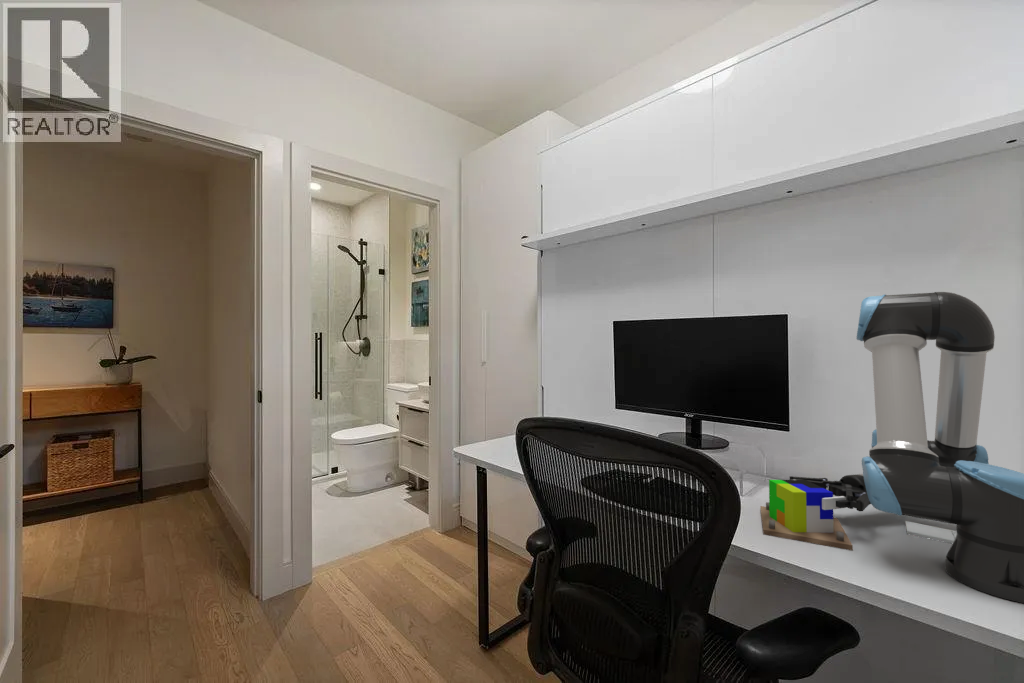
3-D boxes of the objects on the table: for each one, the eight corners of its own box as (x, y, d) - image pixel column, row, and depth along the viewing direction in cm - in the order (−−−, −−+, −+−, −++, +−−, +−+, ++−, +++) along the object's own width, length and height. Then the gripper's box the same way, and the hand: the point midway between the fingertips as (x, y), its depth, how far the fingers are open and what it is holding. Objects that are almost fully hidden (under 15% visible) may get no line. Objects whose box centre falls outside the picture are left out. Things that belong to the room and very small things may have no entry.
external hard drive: (905, 526, 113) (973, 539, 105) (906, 536, 107) (979, 551, 99) (905, 520, 113) (973, 533, 105) (906, 530, 107) (979, 544, 99)
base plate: (837, 522, 114) (837, 511, 114) (852, 550, 98) (852, 537, 98) (760, 510, 123) (760, 499, 123) (763, 534, 107) (763, 522, 107)
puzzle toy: (833, 532, 105) (833, 492, 105) (793, 532, 105) (792, 492, 105) (806, 516, 115) (805, 479, 115) (769, 516, 115) (769, 479, 115)
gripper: (915, 520, 103) (846, 528, 98) (820, 487, 128) (761, 492, 123) (914, 490, 103) (845, 496, 99) (819, 462, 128) (761, 467, 123)
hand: (798, 494), depth 111 cm, fingers open, 13 cm apart
